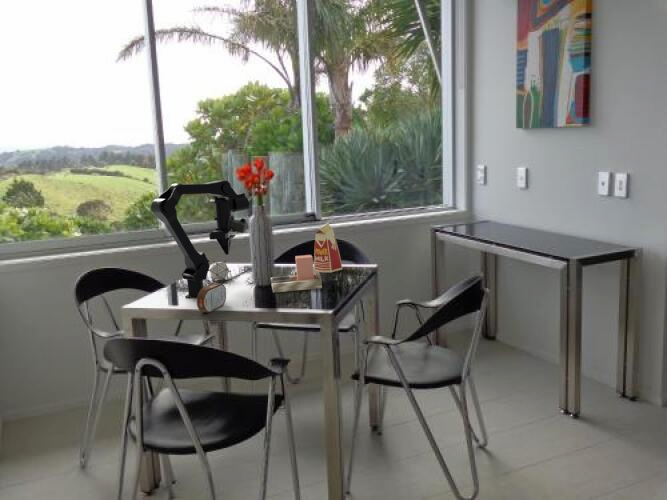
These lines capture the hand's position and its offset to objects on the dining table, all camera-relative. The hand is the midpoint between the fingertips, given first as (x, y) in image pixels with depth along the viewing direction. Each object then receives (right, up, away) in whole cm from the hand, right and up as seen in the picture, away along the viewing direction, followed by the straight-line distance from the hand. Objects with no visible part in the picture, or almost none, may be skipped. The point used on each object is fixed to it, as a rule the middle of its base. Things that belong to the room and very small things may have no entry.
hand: (227, 254), depth 253 cm
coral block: (+30, -11, -3) cm, 32 cm away
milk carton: (+38, -7, +23) cm, 45 cm away
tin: (0, -19, -30) cm, 35 cm away
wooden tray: (+26, -12, -3) cm, 29 cm away
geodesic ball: (-6, -11, +17) cm, 21 cm away
